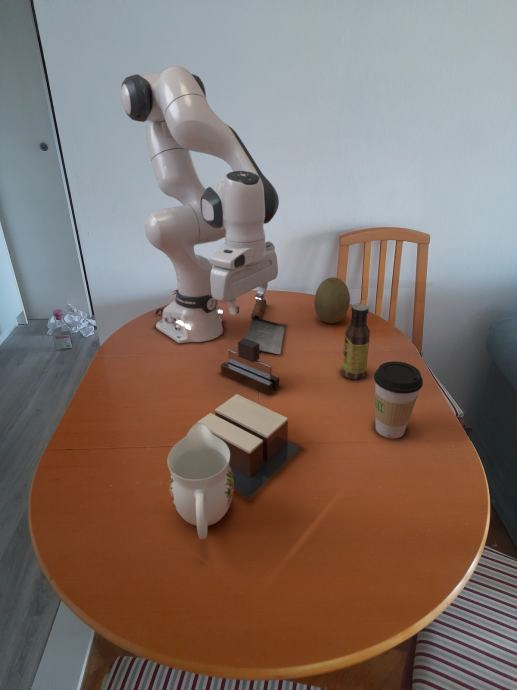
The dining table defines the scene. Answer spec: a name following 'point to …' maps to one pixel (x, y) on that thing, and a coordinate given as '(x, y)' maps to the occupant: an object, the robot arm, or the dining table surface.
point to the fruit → (332, 300)
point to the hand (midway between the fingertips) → (247, 306)
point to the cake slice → (237, 444)
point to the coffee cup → (395, 396)
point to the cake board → (262, 472)
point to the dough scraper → (249, 359)
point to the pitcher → (200, 478)
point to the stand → (250, 379)
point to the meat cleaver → (265, 331)
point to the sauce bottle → (356, 343)
